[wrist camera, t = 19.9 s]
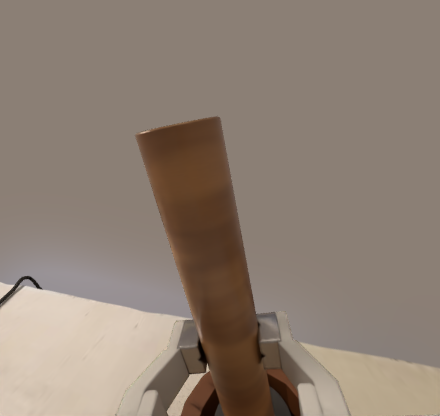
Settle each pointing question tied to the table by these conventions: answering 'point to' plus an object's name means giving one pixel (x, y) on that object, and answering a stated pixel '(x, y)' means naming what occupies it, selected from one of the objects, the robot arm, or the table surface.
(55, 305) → the table surface
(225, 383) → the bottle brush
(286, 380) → the cylindrical container
